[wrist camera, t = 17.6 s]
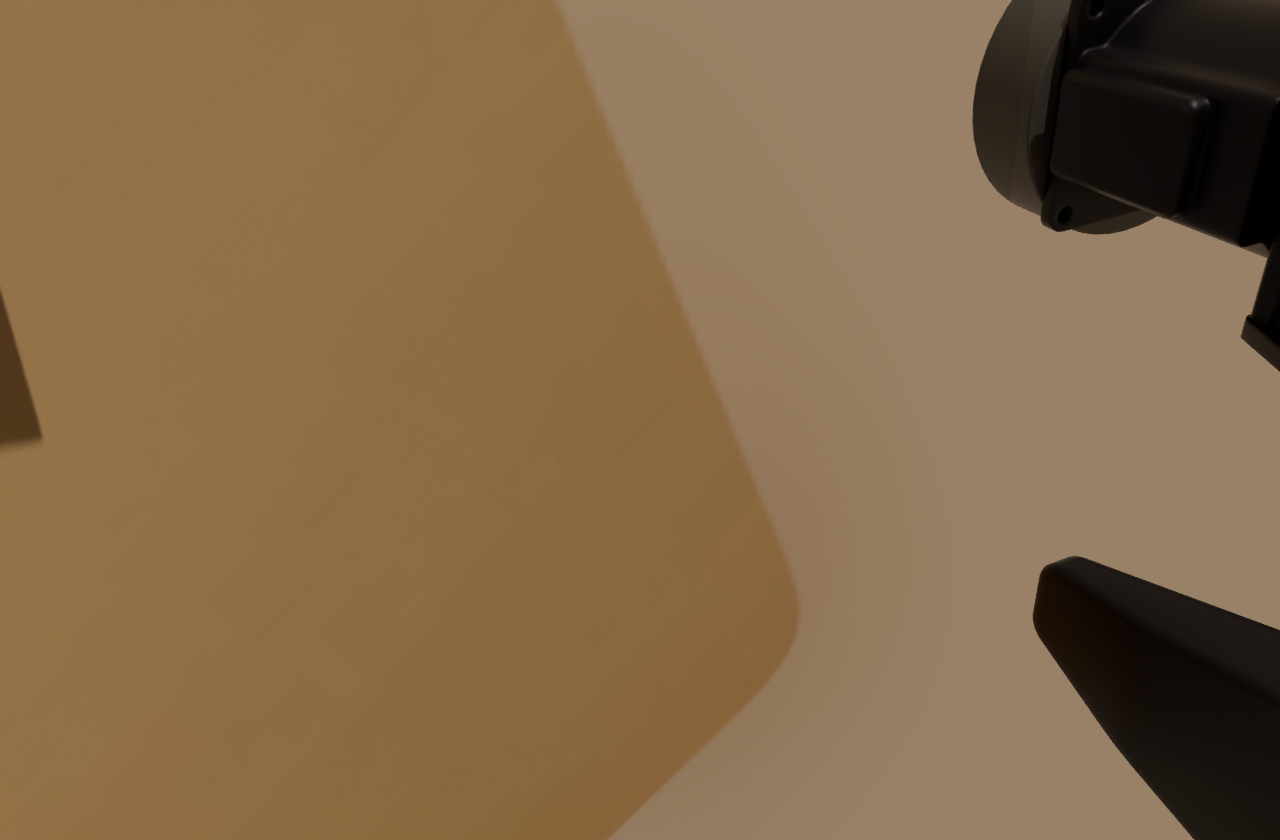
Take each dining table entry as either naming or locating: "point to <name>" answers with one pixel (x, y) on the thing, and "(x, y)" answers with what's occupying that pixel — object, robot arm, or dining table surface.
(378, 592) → the dining table surface
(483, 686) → the dining table surface
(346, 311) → the dining table surface
